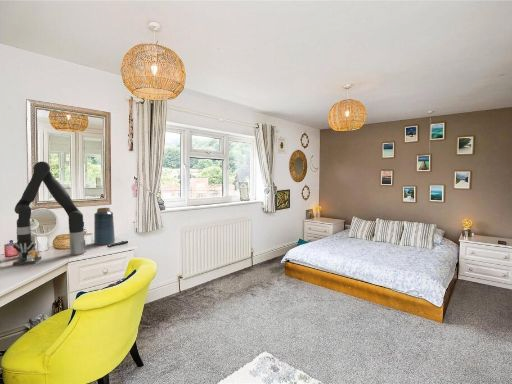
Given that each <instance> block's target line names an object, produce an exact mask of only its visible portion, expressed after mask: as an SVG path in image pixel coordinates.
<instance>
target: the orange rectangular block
mask: <svg viewBox="0 0 512 384" xmlns="http://www.w3.org/2000/svg"><path fill="white" fill-rule="evenodd" d="M35 251H36V250H35ZM35 251H30V252H29V255H30V254H33V259H36V258H37V257H35Z"/></svg>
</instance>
